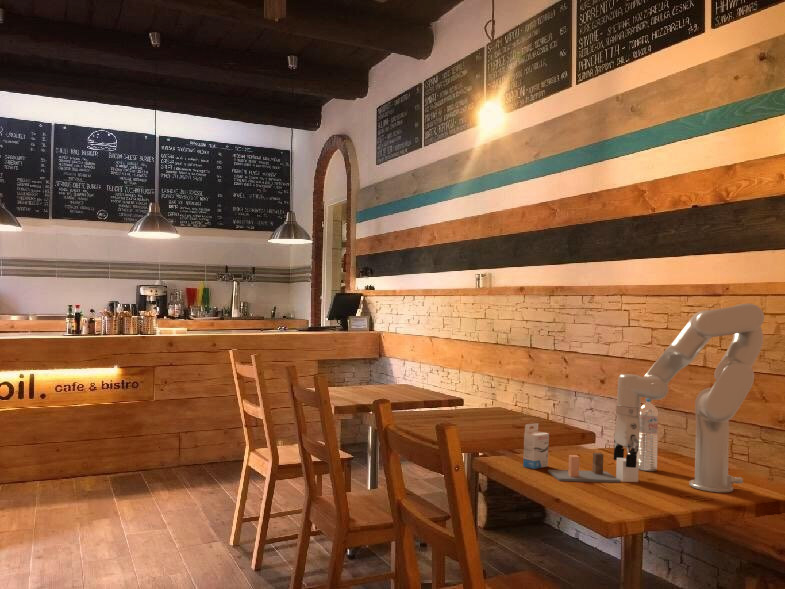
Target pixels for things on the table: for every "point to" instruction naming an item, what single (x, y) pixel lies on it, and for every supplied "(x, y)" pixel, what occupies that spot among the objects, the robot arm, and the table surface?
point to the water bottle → (648, 437)
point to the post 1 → (573, 466)
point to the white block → (626, 471)
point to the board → (584, 476)
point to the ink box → (535, 447)
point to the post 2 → (597, 463)
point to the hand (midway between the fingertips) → (624, 463)
